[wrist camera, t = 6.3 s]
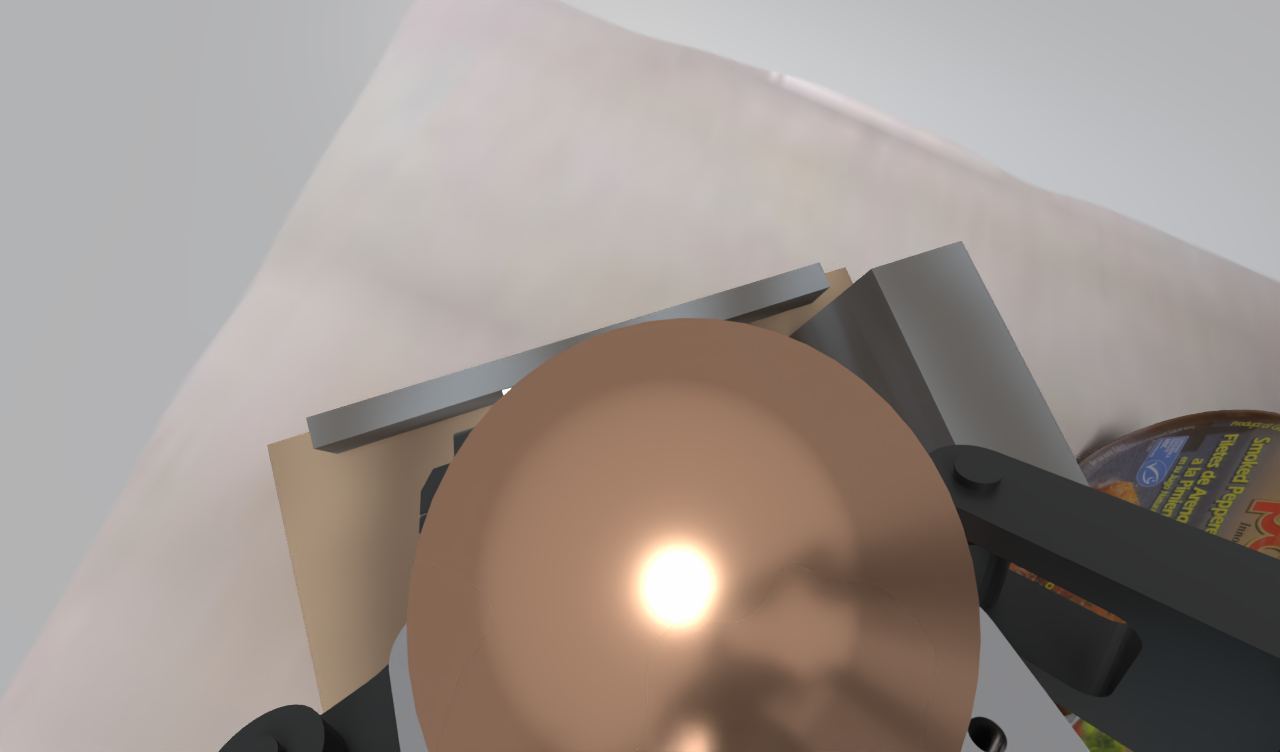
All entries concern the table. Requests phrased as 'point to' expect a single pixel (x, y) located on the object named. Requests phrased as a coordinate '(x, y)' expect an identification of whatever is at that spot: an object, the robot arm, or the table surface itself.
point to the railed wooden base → (787, 303)
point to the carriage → (692, 560)
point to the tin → (1190, 492)
